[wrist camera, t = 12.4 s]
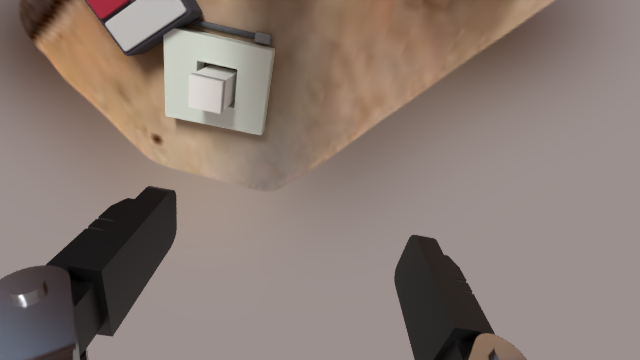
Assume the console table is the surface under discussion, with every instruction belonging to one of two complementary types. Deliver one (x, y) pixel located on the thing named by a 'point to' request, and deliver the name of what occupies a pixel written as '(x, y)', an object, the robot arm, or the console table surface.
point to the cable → (235, 31)
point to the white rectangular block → (212, 89)
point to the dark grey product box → (143, 20)
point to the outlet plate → (198, 47)
